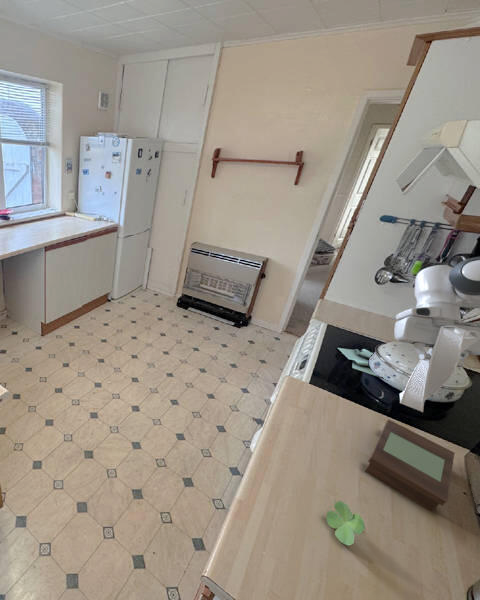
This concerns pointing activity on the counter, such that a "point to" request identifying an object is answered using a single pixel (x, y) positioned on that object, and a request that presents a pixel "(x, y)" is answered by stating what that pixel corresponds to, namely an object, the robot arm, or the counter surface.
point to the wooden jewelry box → (412, 465)
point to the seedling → (345, 523)
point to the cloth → (359, 359)
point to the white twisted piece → (437, 366)
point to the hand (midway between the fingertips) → (441, 363)
